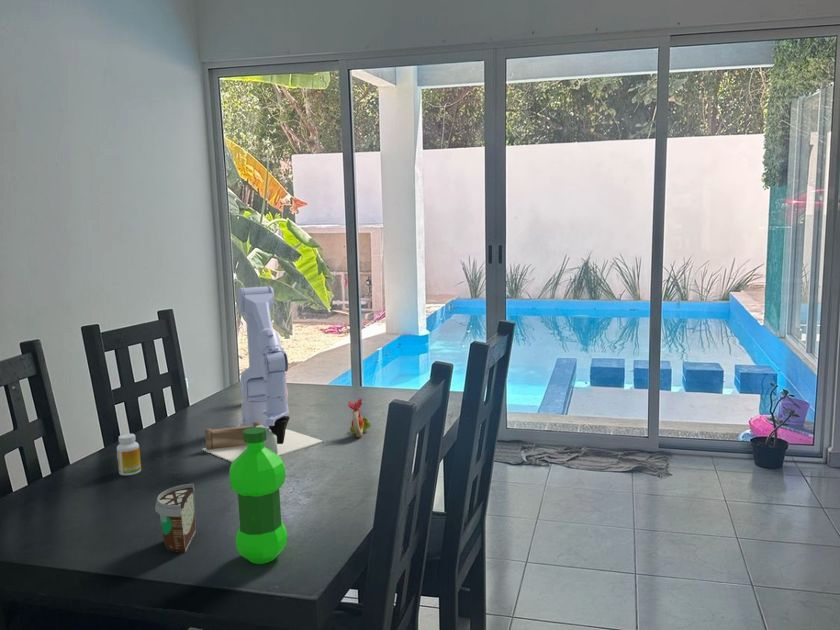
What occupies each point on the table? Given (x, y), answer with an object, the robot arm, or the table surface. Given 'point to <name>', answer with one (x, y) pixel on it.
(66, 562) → the table surface
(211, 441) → the bar
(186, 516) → the food container
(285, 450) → the board
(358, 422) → the bird rattle
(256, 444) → the plastic bottle
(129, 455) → the supplement bottle
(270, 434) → the fence gate
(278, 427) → the robot arm
